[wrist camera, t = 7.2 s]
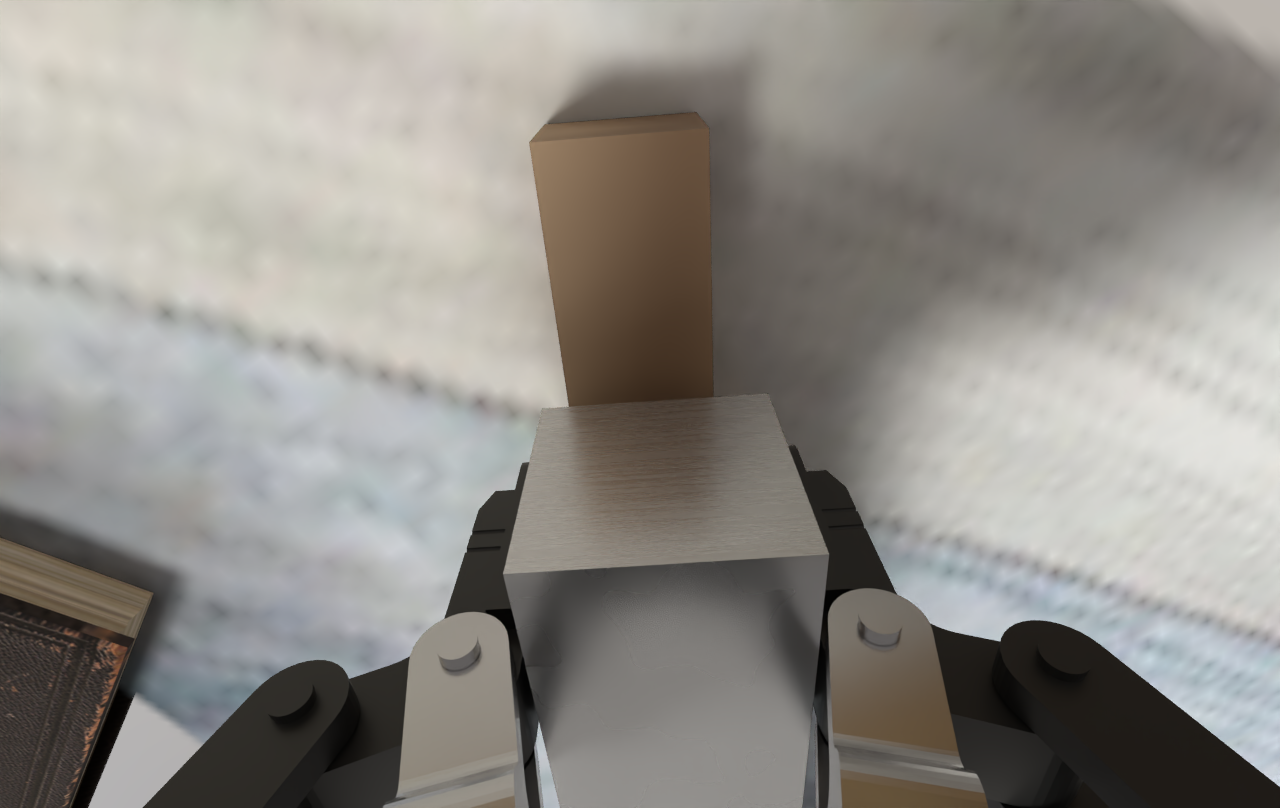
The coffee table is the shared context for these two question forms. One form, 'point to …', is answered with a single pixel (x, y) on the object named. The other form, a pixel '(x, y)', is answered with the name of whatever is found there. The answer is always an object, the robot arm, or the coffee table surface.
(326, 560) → the coffee table surface
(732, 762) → the square steel tube
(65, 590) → the hardcover book
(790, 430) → the coffee table surface
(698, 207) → the walnut rail
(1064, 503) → the coffee table surface
